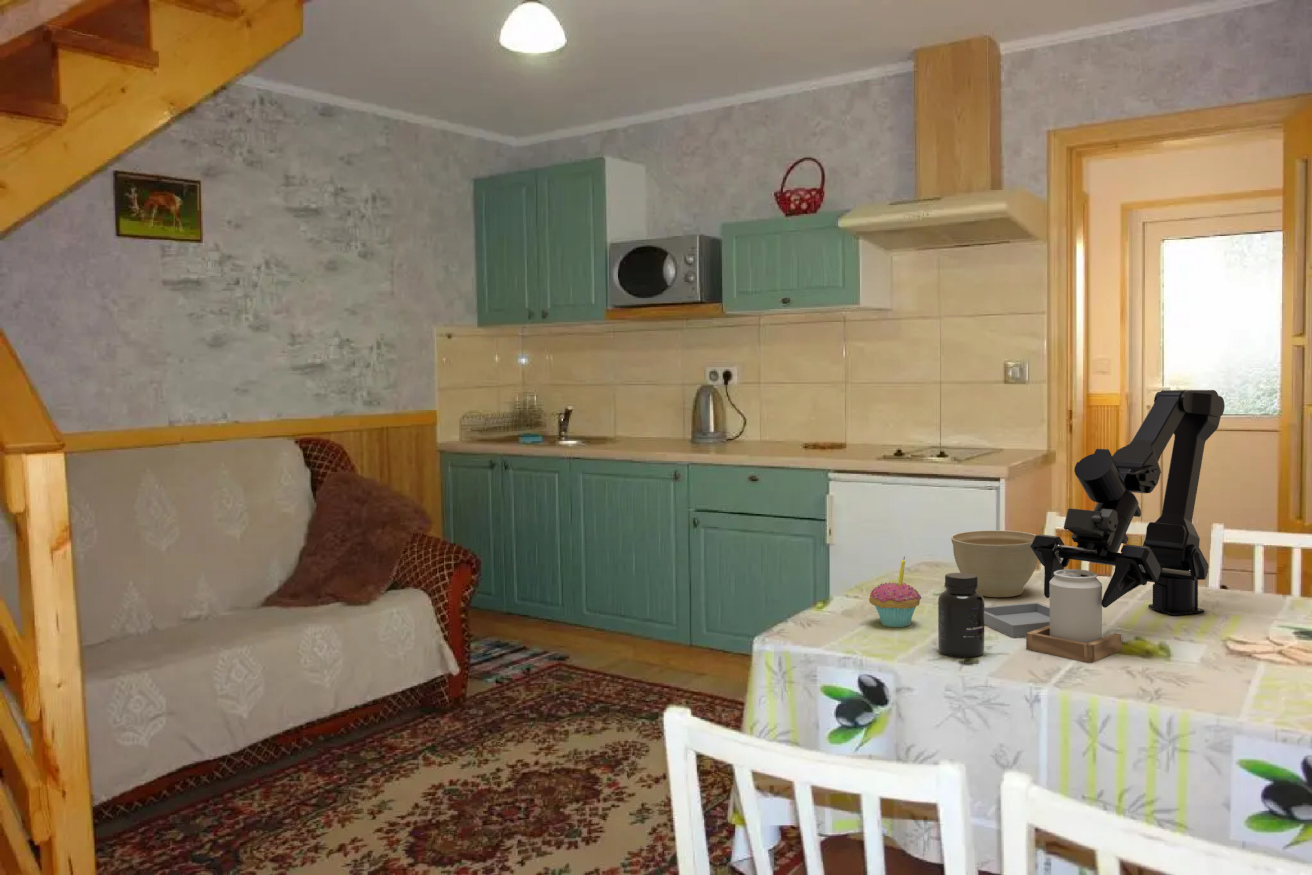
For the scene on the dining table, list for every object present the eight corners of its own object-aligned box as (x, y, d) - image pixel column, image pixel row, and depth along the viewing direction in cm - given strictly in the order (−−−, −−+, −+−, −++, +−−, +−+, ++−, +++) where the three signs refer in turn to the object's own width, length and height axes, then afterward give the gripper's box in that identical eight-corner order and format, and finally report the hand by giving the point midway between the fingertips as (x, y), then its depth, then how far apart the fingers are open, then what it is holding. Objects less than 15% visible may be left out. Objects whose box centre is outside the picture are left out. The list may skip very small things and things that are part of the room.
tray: (1038, 613, 180) (1038, 602, 180) (1082, 630, 167) (1082, 618, 167) (972, 619, 177) (972, 607, 177) (1013, 637, 165) (1013, 625, 165)
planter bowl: (968, 580, 208) (967, 527, 207) (1050, 588, 198) (1050, 533, 197) (939, 596, 195) (939, 540, 194) (1026, 606, 185) (1026, 546, 184)
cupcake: (929, 622, 176) (928, 553, 175) (905, 633, 170) (903, 561, 169) (885, 615, 182) (884, 548, 181) (860, 625, 176) (858, 556, 175)
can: (1107, 656, 153) (1107, 577, 152) (1054, 655, 154) (1053, 576, 154) (1096, 643, 160) (1096, 567, 159) (1045, 641, 162) (1045, 566, 161)
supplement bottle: (978, 660, 153) (977, 581, 152) (932, 655, 157) (931, 577, 156) (989, 649, 159) (989, 572, 158) (945, 644, 162) (944, 569, 162)
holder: (1057, 637, 164) (1057, 622, 164) (1121, 650, 156) (1121, 634, 156) (1026, 648, 158) (1026, 633, 158) (1090, 662, 150) (1090, 646, 150)
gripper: (1036, 484, 166) (998, 561, 160) (1152, 493, 152) (1115, 578, 145) (1061, 527, 172) (1026, 603, 165) (1176, 539, 157) (1141, 623, 151)
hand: (1074, 601), depth 157 cm, fingers open, 9 cm apart
